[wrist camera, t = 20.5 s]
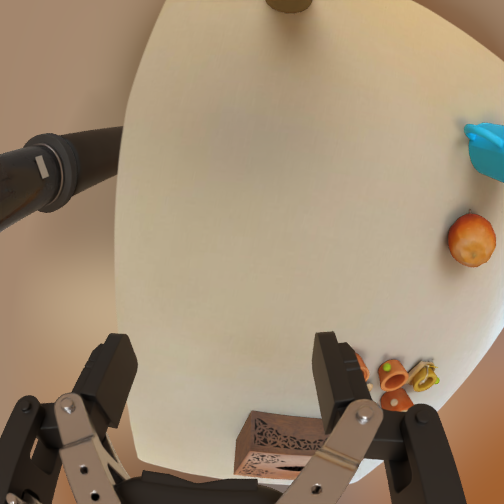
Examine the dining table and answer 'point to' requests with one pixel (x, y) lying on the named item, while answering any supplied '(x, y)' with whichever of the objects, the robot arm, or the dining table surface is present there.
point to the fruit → (471, 240)
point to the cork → (289, 5)
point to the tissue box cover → (277, 445)
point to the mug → (487, 149)
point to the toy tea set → (400, 382)
